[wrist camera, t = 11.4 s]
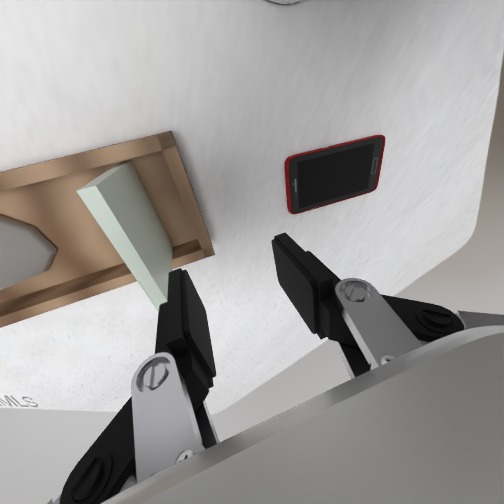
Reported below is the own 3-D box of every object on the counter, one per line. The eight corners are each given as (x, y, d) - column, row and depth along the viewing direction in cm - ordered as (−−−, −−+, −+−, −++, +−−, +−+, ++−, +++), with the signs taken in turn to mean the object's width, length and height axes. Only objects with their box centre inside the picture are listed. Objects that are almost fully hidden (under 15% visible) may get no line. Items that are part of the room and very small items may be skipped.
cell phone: (372, 189, 33) (377, 190, 32) (286, 214, 30) (289, 216, 30) (381, 133, 29) (387, 133, 28) (282, 156, 26) (285, 158, 25)
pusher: (130, 159, 20) (95, 185, 11) (172, 245, 26) (171, 308, 17) (120, 162, 20) (75, 190, 11) (164, 248, 26) (159, 312, 17)
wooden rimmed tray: (171, 130, 21) (170, 131, 17) (210, 239, 28) (216, 258, 24) (-173, 214, 17) (-285, 241, 13) (-25, 316, 24) (-65, 355, 20)
